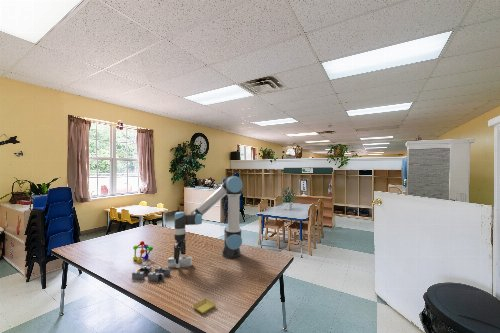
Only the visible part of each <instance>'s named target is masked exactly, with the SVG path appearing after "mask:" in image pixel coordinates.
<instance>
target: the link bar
mask: <svg viewBox="0 0 500 333" xmlns="http://www.w3.org/2000/svg"><path fill="white" fill-rule="evenodd" d="M179 258H180V268H189V267H192V265H193V263H192V260H193V258H192V256H184V257H180V256H179ZM168 267H170V268H176V259H174V256H172V257H168V259H167V268H168Z"/></svg>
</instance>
